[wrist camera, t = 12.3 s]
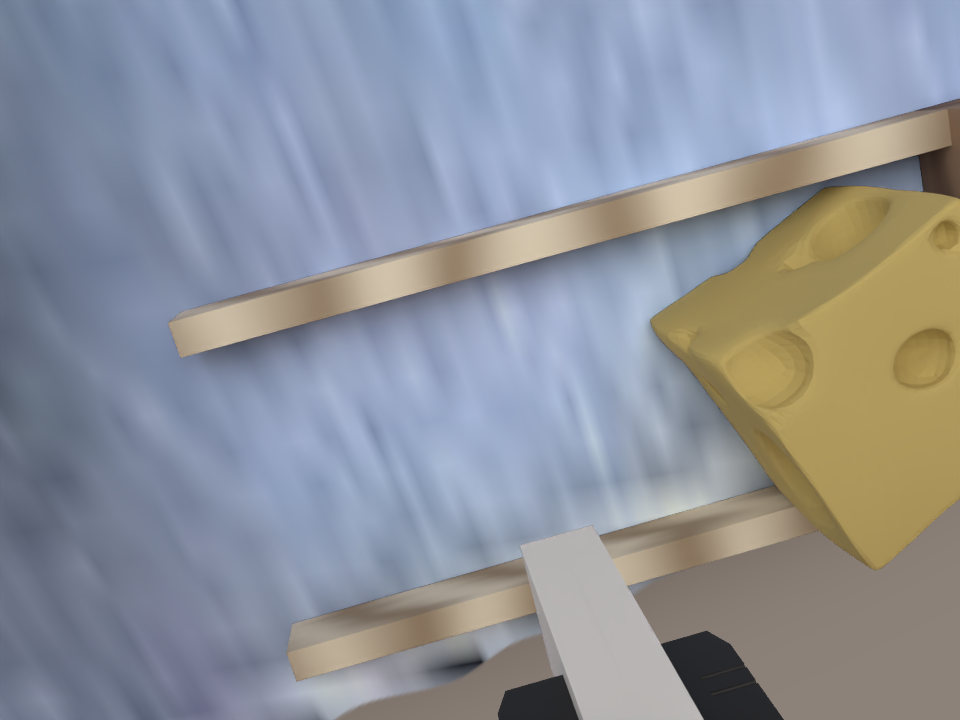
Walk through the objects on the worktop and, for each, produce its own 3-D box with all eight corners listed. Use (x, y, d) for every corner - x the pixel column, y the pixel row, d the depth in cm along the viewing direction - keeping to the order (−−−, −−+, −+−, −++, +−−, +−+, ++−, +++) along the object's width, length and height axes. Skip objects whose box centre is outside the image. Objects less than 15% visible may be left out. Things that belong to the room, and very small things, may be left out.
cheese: (640, 320, 40) (719, 375, 31) (833, 169, 40) (976, 177, 30) (764, 485, 43) (873, 584, 33) (948, 346, 42) (1114, 406, 33)
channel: (302, 651, 42) (288, 730, 37) (182, 311, 38) (144, 341, 32) (1016, 445, 44) (1113, 491, 38) (977, 93, 39) (1079, 84, 34)
